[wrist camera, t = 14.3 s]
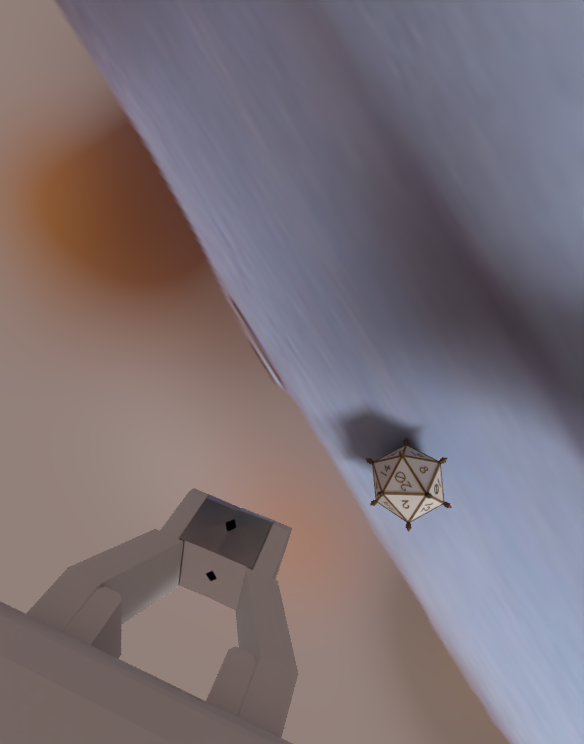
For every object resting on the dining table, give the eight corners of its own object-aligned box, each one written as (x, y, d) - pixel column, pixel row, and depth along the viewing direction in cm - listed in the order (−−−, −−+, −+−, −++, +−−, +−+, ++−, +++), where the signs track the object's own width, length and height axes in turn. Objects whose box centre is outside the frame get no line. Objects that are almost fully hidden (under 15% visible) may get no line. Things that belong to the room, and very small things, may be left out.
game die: (394, 440, 52) (335, 459, 46) (451, 424, 46) (392, 443, 40) (419, 512, 50) (361, 542, 44) (482, 506, 44) (425, 540, 38)
